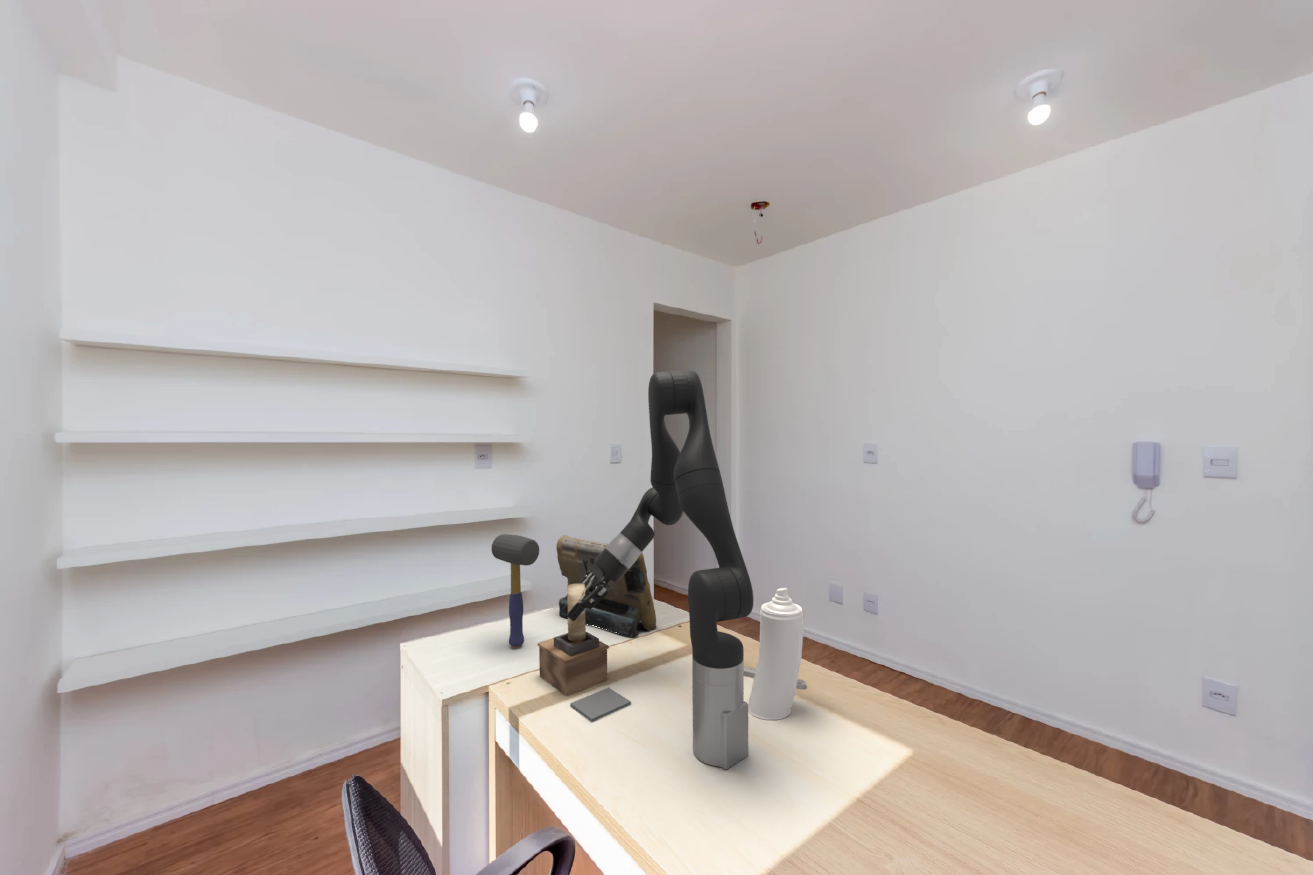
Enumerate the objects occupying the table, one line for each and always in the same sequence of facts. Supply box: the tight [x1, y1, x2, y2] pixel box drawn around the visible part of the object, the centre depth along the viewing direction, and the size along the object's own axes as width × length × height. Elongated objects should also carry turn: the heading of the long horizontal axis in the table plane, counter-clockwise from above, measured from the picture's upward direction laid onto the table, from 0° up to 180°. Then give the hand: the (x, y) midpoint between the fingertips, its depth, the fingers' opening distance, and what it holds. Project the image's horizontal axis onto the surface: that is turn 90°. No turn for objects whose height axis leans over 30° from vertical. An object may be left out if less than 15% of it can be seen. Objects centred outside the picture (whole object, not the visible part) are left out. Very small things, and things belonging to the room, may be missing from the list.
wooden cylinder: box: [566, 583, 587, 641], centre depth 121 cm, size 4×4×12 cm
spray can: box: [747, 587, 805, 721], centre depth 110 cm, size 12×11×25 cm
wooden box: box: [537, 631, 610, 697], centre depth 123 cm, size 13×12×10 cm
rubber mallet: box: [491, 533, 540, 649], centre depth 140 cm, size 12×8×30 cm, turn 54°
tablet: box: [555, 534, 657, 638], centre depth 158 cm, size 33×14×25 cm, turn 59°
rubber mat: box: [569, 686, 632, 723], centre depth 111 cm, size 8×10×1 cm
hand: (568, 614), depth 121 cm, fingers closed on wooden cylinder, 4 cm apart
